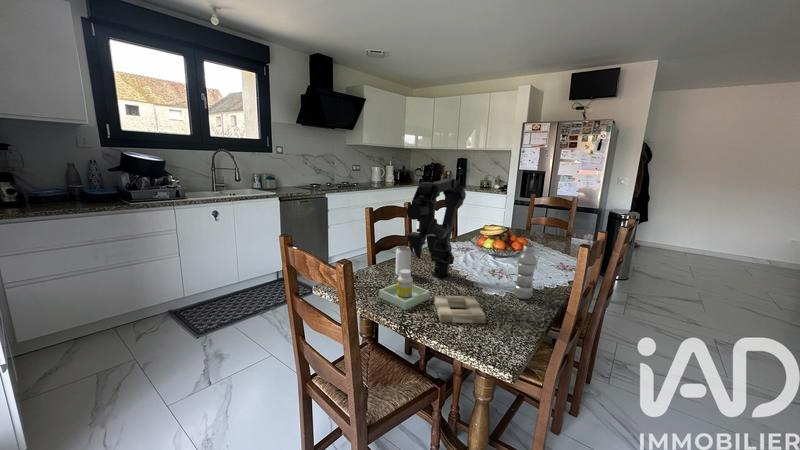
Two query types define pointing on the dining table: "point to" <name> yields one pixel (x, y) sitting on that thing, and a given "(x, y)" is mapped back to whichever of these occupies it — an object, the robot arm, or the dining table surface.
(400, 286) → the supplement bottle
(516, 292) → the plastic bottle
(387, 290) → the tray
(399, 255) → the can
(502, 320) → the dining table surface
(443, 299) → the socket block
